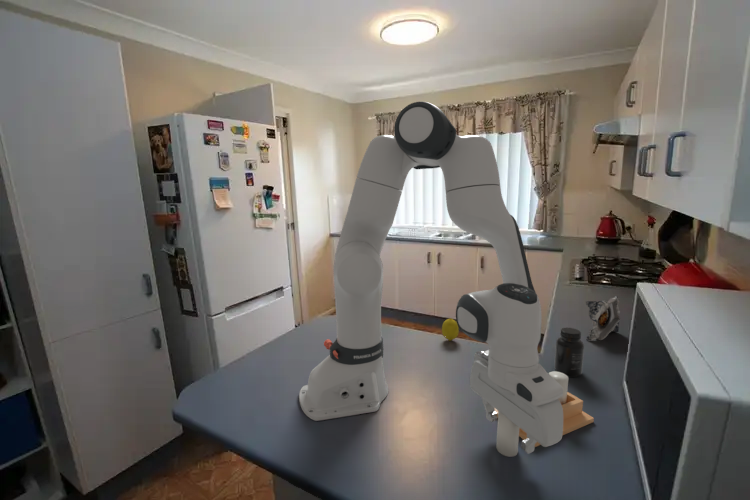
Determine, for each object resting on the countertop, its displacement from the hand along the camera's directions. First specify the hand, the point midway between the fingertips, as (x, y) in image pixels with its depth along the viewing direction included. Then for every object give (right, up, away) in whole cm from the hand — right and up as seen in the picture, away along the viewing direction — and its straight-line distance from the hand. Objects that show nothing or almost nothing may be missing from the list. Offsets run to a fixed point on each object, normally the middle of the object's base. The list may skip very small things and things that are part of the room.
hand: (508, 434), depth 68 cm
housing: (+11, -1, +10) cm, 15 cm away
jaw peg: (0, -3, 0) cm, 3 cm away
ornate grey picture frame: (+51, +7, +50) cm, 72 cm away
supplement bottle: (+28, +2, +29) cm, 40 cm away
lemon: (-1, +6, +48) cm, 49 cm away
